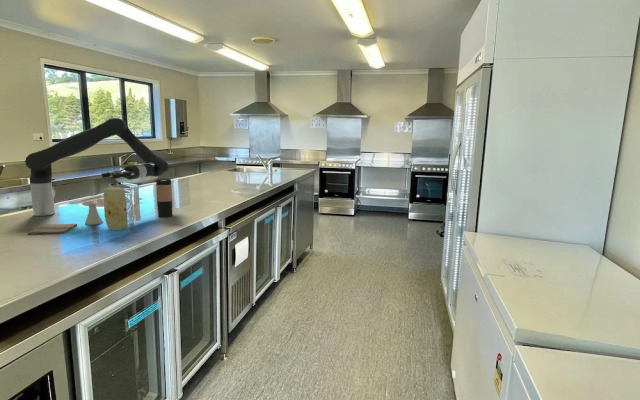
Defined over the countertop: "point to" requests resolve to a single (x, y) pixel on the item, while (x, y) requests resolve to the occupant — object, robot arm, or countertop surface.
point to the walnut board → (52, 229)
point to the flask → (93, 215)
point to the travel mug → (164, 197)
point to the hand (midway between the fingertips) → (107, 176)
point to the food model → (115, 208)
